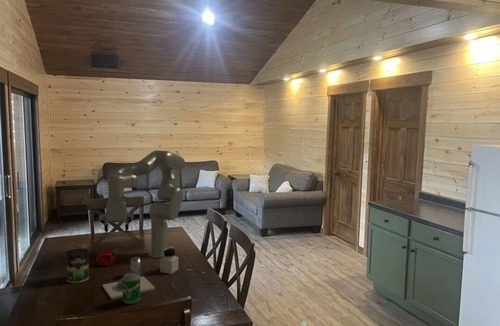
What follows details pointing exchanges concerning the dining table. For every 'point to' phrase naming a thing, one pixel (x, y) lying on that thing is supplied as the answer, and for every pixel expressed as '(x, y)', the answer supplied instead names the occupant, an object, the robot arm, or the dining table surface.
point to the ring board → (119, 292)
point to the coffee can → (77, 265)
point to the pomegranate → (105, 258)
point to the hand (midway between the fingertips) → (116, 231)
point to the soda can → (131, 288)
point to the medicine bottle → (169, 261)
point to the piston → (136, 265)
